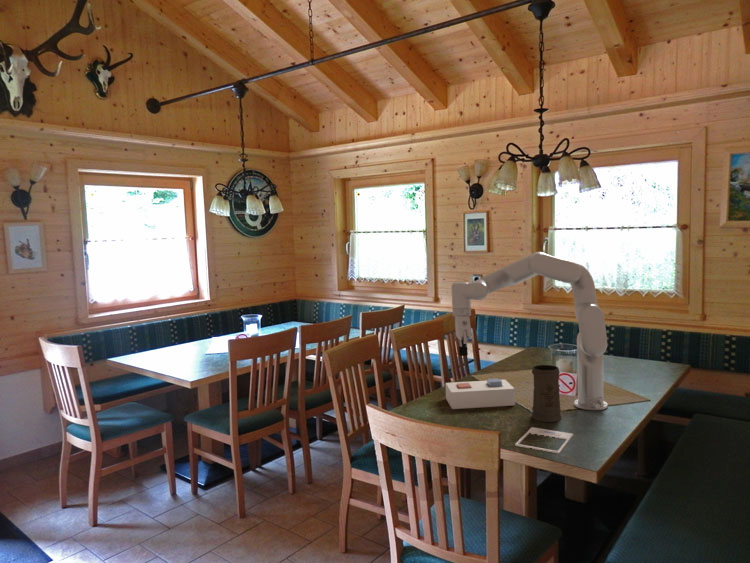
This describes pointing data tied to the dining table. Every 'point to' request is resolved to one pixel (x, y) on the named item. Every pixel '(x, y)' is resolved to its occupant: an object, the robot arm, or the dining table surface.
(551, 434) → the photo frame
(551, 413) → the beer stein
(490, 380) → the blue key
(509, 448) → the dining table surface
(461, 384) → the red key
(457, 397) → the key console
